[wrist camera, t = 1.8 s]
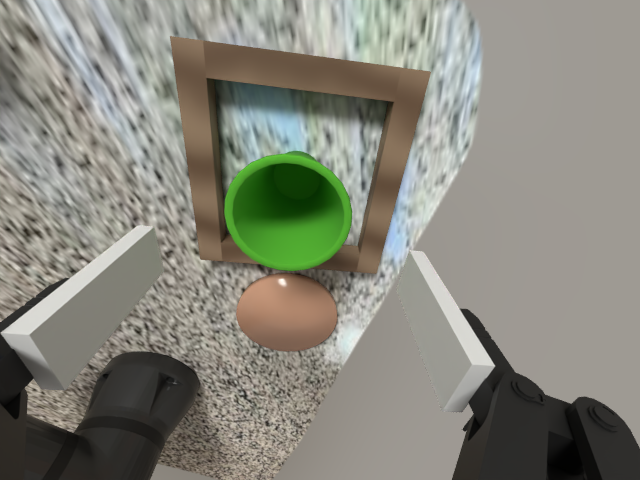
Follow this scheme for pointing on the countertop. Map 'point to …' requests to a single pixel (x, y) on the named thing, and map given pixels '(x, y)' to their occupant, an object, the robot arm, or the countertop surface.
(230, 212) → the cup
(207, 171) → the frame
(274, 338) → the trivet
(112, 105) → the countertop surface
